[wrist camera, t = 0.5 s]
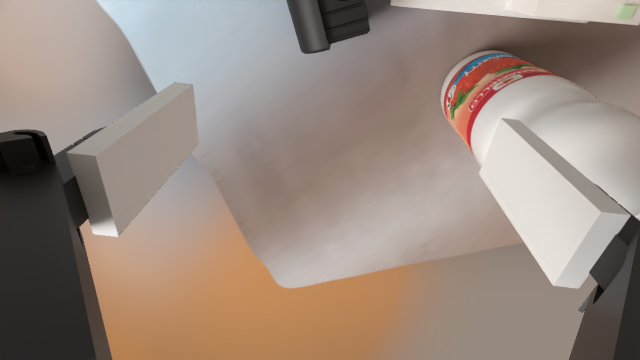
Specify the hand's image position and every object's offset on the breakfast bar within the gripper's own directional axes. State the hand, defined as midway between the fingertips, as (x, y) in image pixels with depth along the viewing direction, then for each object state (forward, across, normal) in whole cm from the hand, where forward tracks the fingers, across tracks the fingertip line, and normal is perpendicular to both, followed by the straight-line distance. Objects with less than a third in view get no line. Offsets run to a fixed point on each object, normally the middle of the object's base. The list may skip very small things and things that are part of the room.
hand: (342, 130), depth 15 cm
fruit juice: (+27, +16, -4) cm, 32 cm away
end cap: (+27, -3, +4) cm, 27 cm away
